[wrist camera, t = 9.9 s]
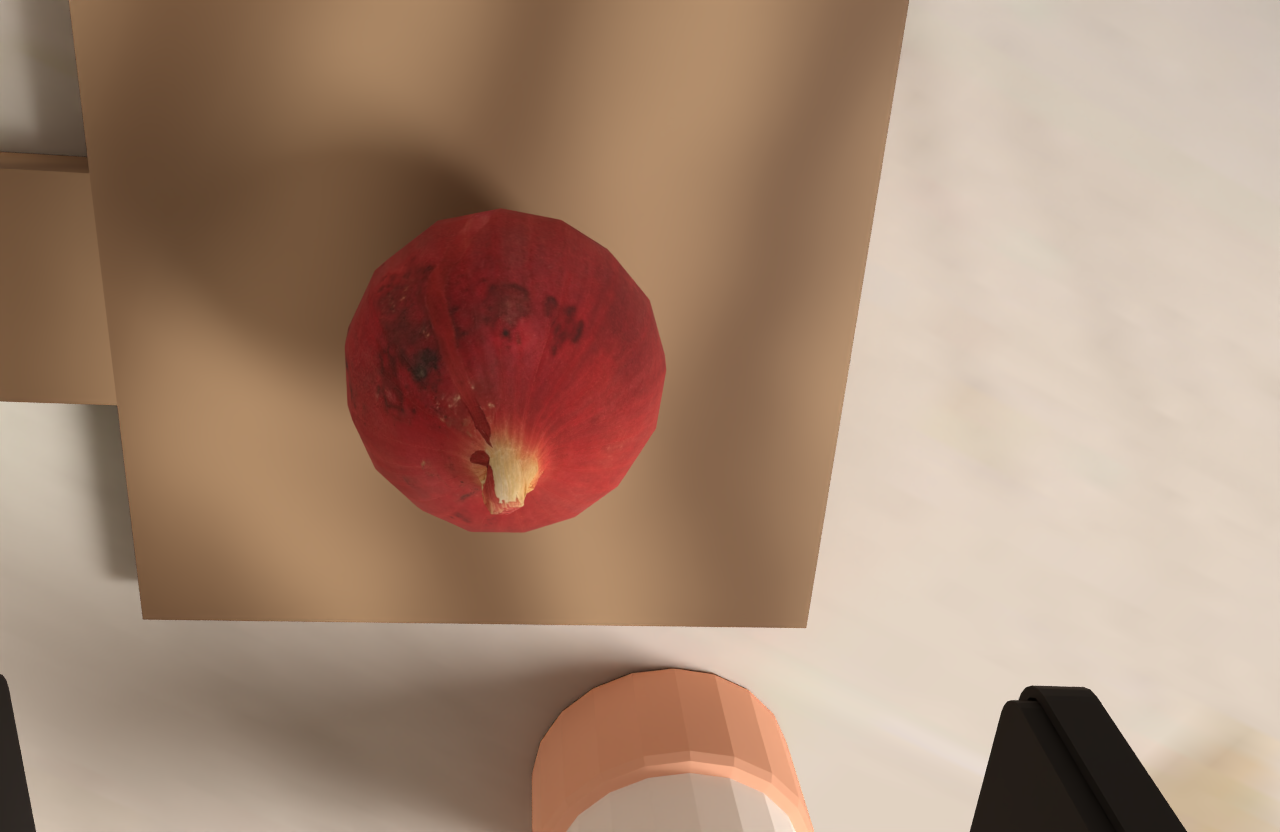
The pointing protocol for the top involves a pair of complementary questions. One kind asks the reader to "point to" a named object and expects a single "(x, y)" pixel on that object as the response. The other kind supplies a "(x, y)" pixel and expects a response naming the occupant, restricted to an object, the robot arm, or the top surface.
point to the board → (396, 214)
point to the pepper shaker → (666, 761)
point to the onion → (503, 371)
